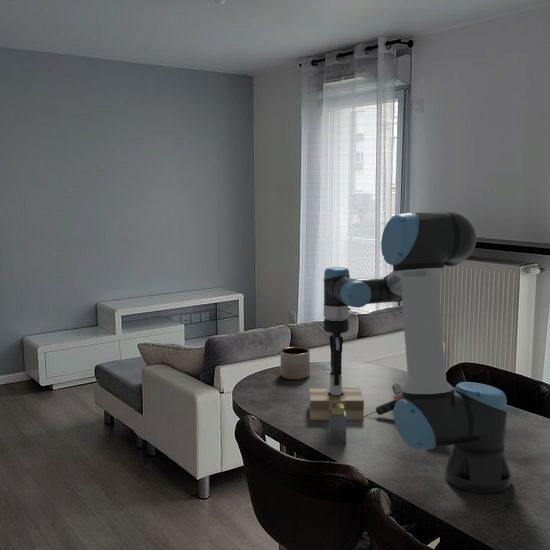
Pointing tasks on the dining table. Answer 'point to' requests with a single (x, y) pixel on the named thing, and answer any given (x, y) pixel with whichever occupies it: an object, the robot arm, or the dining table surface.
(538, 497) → the dining table surface
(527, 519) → the dining table surface
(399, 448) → the dining table surface
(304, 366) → the planter
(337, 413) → the square bit
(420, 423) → the robot arm
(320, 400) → the bore block
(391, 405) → the tool
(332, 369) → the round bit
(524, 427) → the dining table surface
